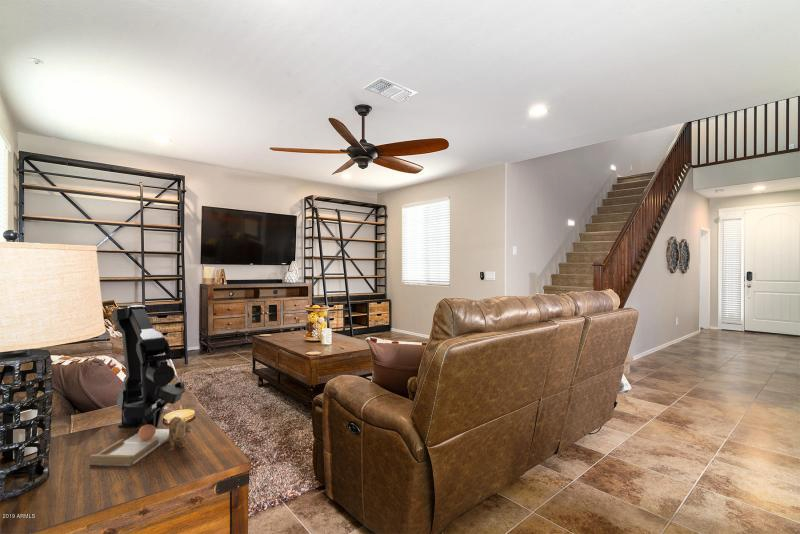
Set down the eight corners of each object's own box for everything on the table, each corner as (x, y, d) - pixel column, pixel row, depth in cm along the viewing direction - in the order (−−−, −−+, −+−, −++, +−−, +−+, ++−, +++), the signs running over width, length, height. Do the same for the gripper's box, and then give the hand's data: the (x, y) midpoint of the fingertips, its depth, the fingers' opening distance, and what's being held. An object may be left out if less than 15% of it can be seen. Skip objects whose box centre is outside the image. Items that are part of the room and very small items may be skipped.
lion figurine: (193, 451, 115) (194, 420, 114) (172, 456, 111) (174, 425, 111) (178, 431, 126) (179, 403, 125) (159, 436, 122) (160, 407, 121)
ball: (138, 442, 120) (132, 434, 117) (146, 428, 123) (141, 420, 120) (152, 443, 120) (147, 435, 117) (160, 429, 123) (155, 421, 120)
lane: (89, 464, 106) (89, 455, 106) (144, 430, 128) (144, 422, 128) (130, 466, 105) (130, 457, 105) (178, 431, 127) (178, 423, 127)
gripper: (160, 388, 113) (161, 442, 113) (194, 368, 131) (196, 415, 132) (120, 388, 113) (122, 442, 113) (160, 368, 131) (162, 415, 132)
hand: (154, 428), depth 123 cm, fingers closed
